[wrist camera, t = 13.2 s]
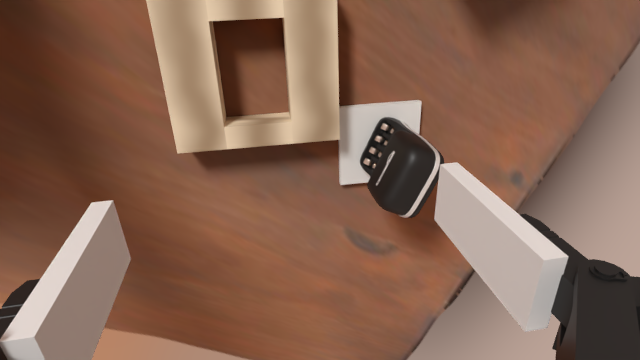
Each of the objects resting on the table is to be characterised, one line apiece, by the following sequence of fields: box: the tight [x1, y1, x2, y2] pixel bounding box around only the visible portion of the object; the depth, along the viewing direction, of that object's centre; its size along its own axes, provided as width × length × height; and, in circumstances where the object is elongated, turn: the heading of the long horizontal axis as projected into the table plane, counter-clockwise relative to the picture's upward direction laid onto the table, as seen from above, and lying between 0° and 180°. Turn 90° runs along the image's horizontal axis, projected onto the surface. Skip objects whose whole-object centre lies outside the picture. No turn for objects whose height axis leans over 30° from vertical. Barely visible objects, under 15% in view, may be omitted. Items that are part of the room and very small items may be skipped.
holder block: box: [146, 0, 340, 153], centre depth 39 cm, size 16×14×4 cm
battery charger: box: [360, 117, 444, 218], centre depth 40 cm, size 7×4×11 cm, turn 156°
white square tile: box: [338, 100, 422, 185], centre depth 45 cm, size 9×9×1 cm
